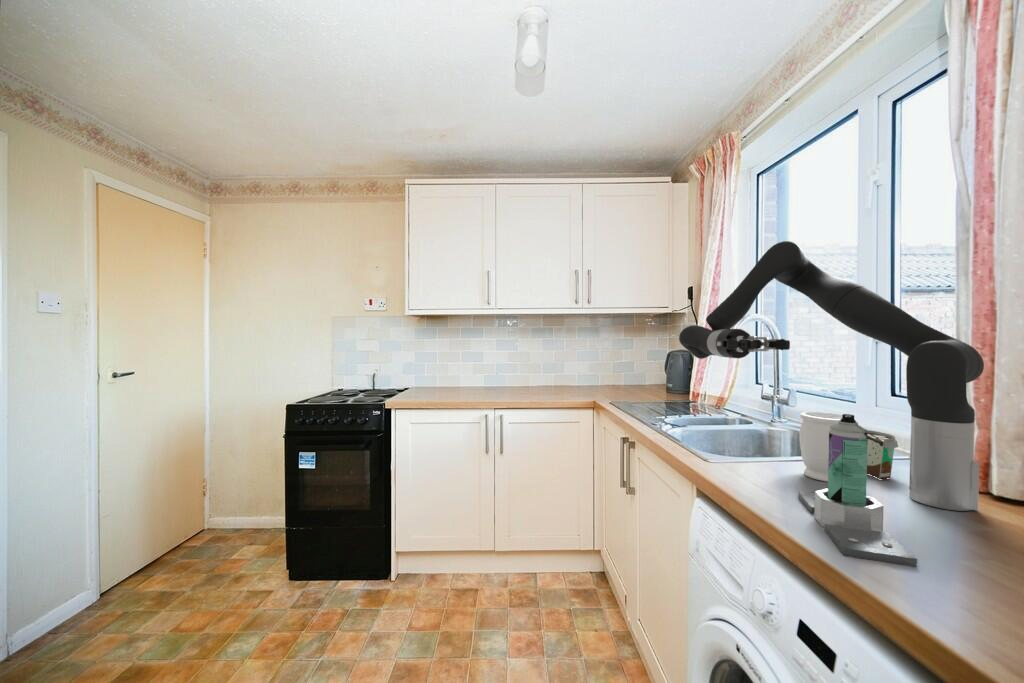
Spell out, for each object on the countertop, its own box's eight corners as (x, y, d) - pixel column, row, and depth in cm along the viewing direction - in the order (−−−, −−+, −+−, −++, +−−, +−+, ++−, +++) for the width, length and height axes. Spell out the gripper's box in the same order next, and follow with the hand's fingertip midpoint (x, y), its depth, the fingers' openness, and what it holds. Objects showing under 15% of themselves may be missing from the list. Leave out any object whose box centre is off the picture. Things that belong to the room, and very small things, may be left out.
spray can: (857, 521, 80) (860, 413, 79) (871, 534, 75) (873, 418, 74) (822, 516, 82) (824, 411, 81) (833, 529, 76) (835, 416, 76)
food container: (911, 482, 101) (912, 440, 101) (885, 482, 101) (886, 439, 101) (869, 466, 113) (870, 428, 113) (845, 466, 114) (846, 428, 113)
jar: (850, 475, 106) (851, 414, 106) (855, 488, 97) (857, 421, 97) (798, 468, 112) (799, 410, 111) (799, 479, 103) (800, 416, 103)
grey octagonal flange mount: (849, 502, 89) (850, 478, 88) (917, 566, 64) (917, 533, 64) (798, 496, 92) (798, 473, 92) (843, 555, 67) (844, 523, 67)
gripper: (702, 328, 113) (740, 327, 97) (754, 329, 114) (800, 328, 98) (702, 357, 113) (740, 361, 97) (754, 357, 114) (799, 361, 98)
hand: (770, 344), depth 98 cm, fingers open, 8 cm apart
